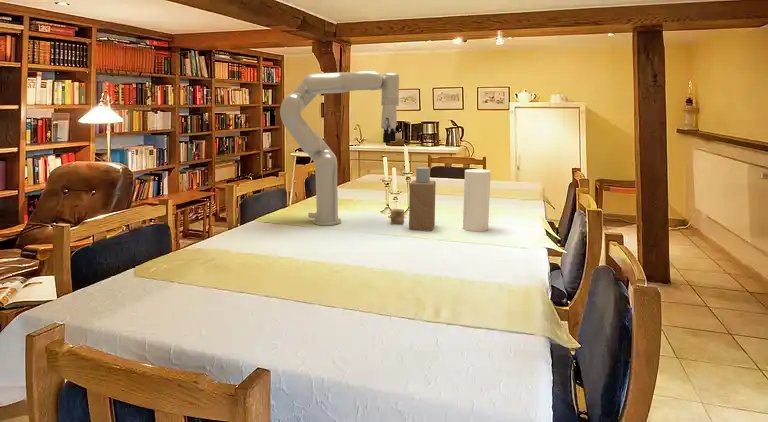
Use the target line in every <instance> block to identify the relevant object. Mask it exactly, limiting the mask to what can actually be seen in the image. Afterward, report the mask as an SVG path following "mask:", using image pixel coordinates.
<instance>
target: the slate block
mask: <svg viewBox="0 0 768 422" xmlns="http://www.w3.org/2000/svg"><path fill="white" fill-rule="evenodd" d="M415 169H416V170H415V173H416V174H415V180H416V183H428V182H430V181H431V167H428V166H427V167H425V166H424V167H423V166H422V167H421V166H418V167H416V168H415Z"/></svg>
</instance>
